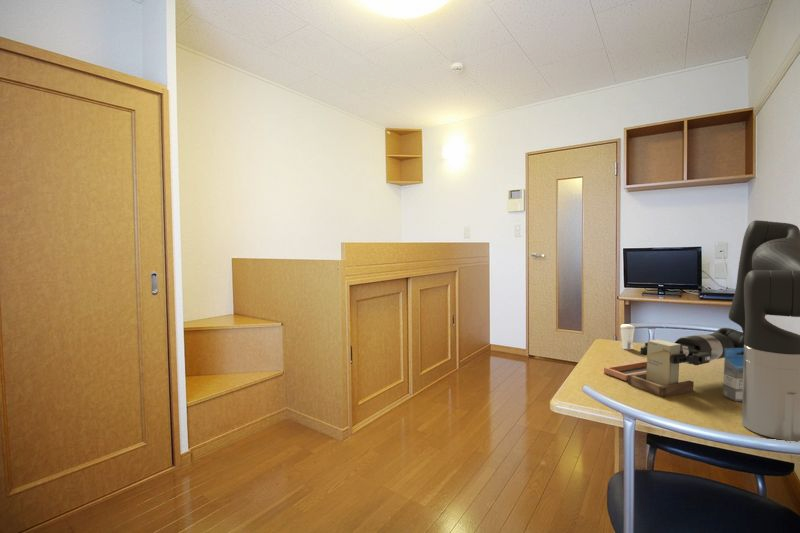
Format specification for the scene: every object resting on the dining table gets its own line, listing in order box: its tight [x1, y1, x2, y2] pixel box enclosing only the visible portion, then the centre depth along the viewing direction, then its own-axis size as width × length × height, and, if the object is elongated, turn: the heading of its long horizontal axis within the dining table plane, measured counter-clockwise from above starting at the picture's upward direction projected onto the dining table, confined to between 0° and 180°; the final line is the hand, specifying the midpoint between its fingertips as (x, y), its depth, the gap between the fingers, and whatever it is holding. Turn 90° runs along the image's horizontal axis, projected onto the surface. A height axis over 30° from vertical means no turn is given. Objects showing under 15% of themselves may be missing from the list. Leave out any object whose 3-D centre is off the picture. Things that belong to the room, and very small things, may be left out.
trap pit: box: [603, 360, 647, 383], centre depth 113 cm, size 8×18×2 cm, turn 109°
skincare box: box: [646, 338, 680, 386], centre depth 102 cm, size 6×4×12 cm
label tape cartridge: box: [722, 348, 744, 402], centre depth 93 cm, size 9×4×12 cm, turn 88°
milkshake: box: [619, 322, 638, 351], centre depth 139 cm, size 4×5×10 cm
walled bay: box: [627, 372, 695, 398], centre depth 102 cm, size 10×11×2 cm
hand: (656, 355), depth 101 cm, fingers open, 8 cm apart
